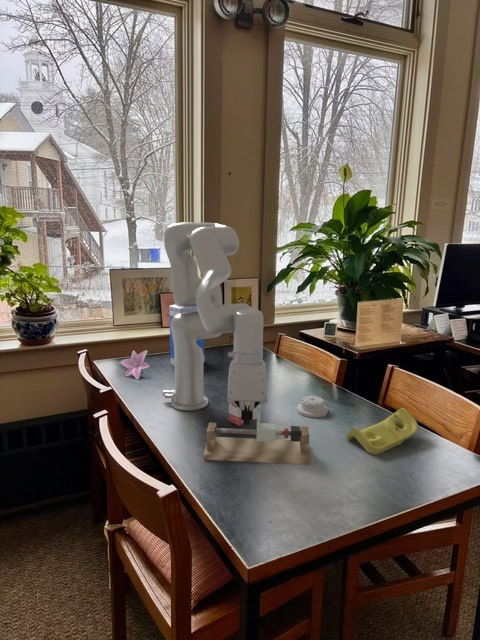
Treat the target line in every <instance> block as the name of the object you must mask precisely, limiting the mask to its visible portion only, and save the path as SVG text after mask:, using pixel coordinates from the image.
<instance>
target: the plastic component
mask: <svg viewBox="0 0 480 640" xmlns="http://www.w3.org/2000/svg"><path fill="white" fill-rule="evenodd" d="M418 428H419V426H418V421H417V420H416V419H415V417H414V416H413V415H412V414H411V413H410V412H409V411H408V410H407V409H406V408H399V409H397V410H395V411H394V412H393V413H392V414H391V415H389V416H388V417H386V418H384V419H383V420H381V421H379V422H378V423H375V424H373V425H370V426H369V427H366V428H363V429H359V428H358V426H357V427H356V426H354V427H351V429H350V430H349V432H348V433H347V434H346V435H345V438H346V439H347V440H348V441H353V440H356V441H358V443H359V444H360V445H361V446H362V448H364V449H365V451H366V452H367V453H369V454H370V455H374V456H375V455H380V454H382V453H384V452H386V451H388V450H390V449H392V448H395V447H397V446H399V445H401V444H402V443H403V442H404V441H406V440H408V439H410V438H411V437H412V436H413V435H414V434H415V433H416V432H418V431H417V430H418Z"/></svg>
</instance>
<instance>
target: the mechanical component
mask: <svg viewBox="0 0 480 640" xmlns="http://www.w3.org/2000/svg"><path fill="white" fill-rule="evenodd" d="M328 409H329V408H328V407H327V406H326V405H325V399H323V398H322V397H319V396H317V395H306V396H305V395H304V397H301V400H300V403H299V404H297V405H296V411H297V413H298V414H299V415H301V416H303V417H307V418H322V417H325V416H327V415H328V412H329V410H328Z"/></svg>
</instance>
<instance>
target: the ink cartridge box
mask: <svg viewBox="0 0 480 640" xmlns="http://www.w3.org/2000/svg"><path fill="white" fill-rule="evenodd" d="M245 405H246V407H247V409H248V406H249V405H250V401H245ZM254 420H257V407H256V408H254V410H253V420H252V421H254ZM228 422H230V423H232V424H234V425H236V426H239V427H240V426H243V425H244V420H241V410H240V408H239V407H238V406H237V405H236V404H235V403H231V402H228Z"/></svg>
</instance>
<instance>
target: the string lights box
mask: <svg viewBox="0 0 480 640" xmlns="http://www.w3.org/2000/svg"><path fill="white" fill-rule="evenodd" d="M168 308H169V311H168V312H169V347H170V348H169V349H170V365H171V366H172V367H175V362H174V343H173V337H172V332H171V320H172V318H173V317H174V316H175V315H177V314H179V313H182V312H190V311H198V310H197V307H188V308H182V307H178V306H177V305H176V304H171V305H169V306H168ZM196 343H197V345H198V346H199V347H200V348H201V350H202V352H203V363H205V361H206V360H205V357H206V356H205V339H201V340H197V341H196Z"/></svg>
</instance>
